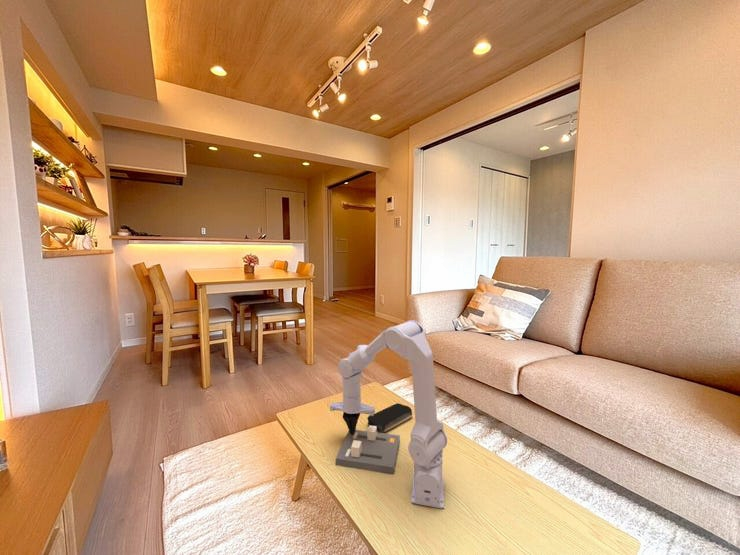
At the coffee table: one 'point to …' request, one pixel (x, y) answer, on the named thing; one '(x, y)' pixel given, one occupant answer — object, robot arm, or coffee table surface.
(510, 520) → the coffee table surface
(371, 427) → the block
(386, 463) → the grey flat block
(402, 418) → the black sponge
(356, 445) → the block
